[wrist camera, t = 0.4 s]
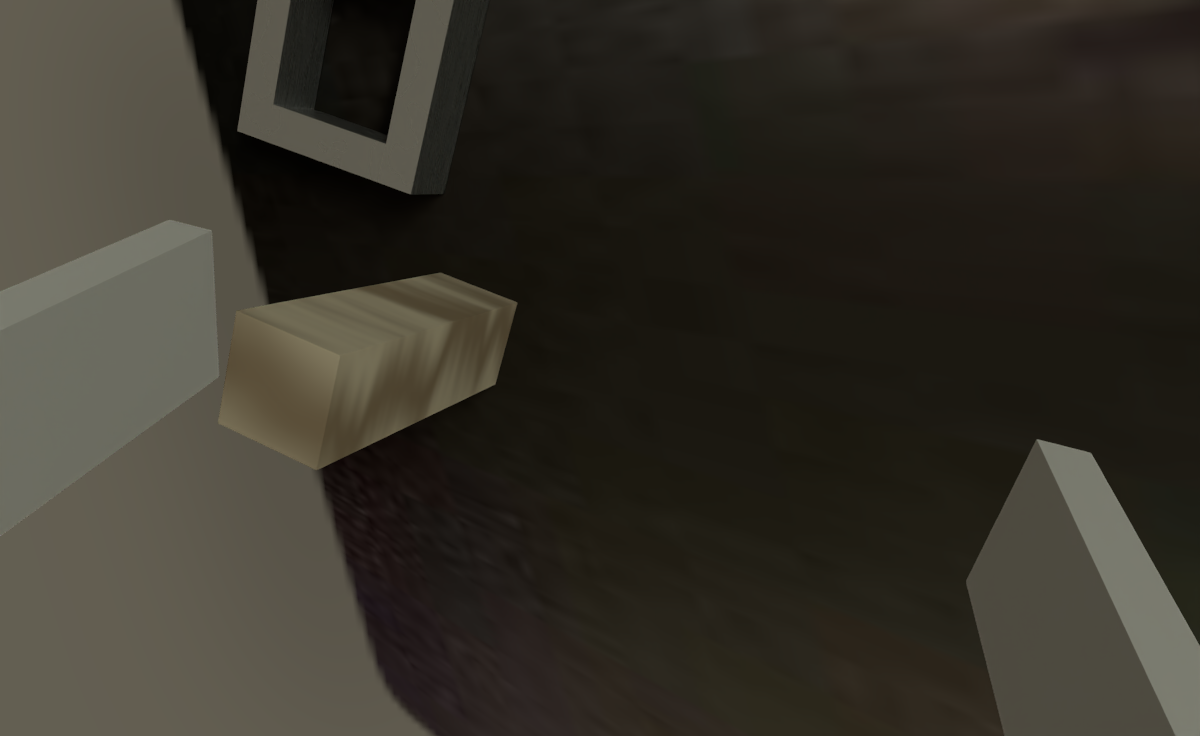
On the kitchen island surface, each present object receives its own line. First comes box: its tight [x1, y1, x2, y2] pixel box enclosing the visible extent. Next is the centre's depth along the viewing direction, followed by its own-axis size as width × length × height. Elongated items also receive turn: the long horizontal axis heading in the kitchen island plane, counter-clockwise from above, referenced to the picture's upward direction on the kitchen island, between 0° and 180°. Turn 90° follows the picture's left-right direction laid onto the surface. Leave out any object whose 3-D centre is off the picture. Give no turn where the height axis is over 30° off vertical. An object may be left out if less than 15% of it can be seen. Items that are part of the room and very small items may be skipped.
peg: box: [218, 273, 517, 470], centre depth 36 cm, size 4×4×14 cm
